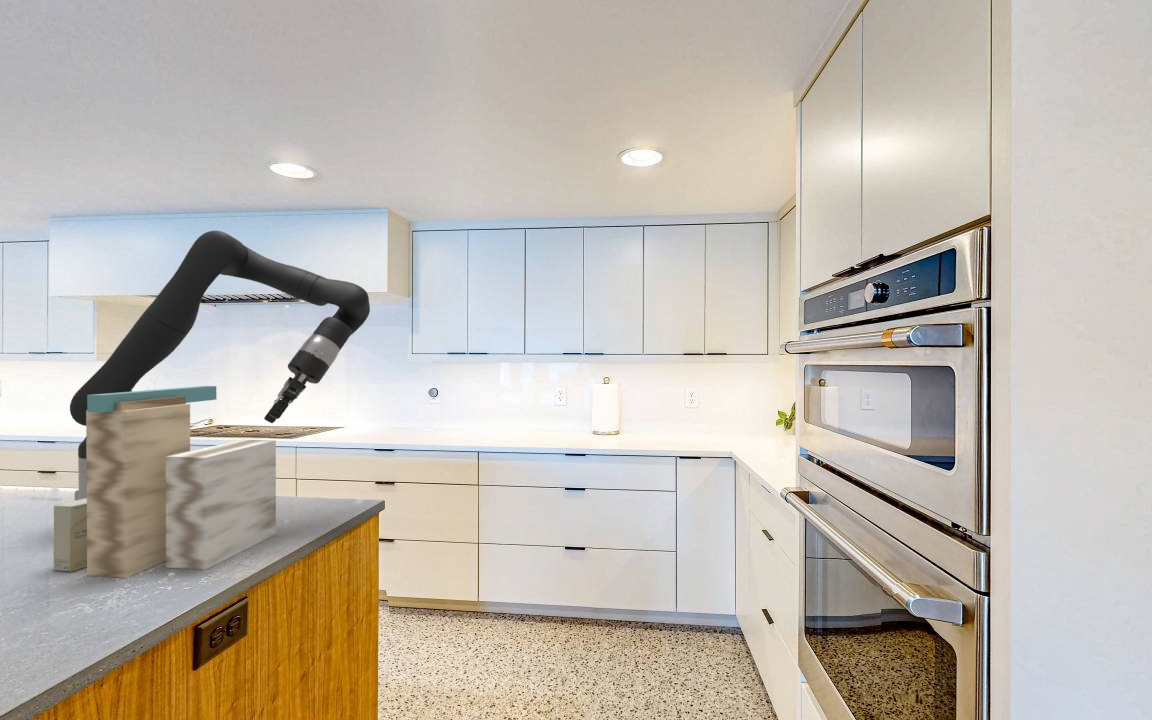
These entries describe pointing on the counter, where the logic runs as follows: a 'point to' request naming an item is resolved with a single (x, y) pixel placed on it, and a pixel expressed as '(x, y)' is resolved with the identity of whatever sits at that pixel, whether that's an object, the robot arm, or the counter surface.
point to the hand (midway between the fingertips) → (270, 419)
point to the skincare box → (70, 535)
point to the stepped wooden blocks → (171, 491)
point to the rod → (148, 397)
